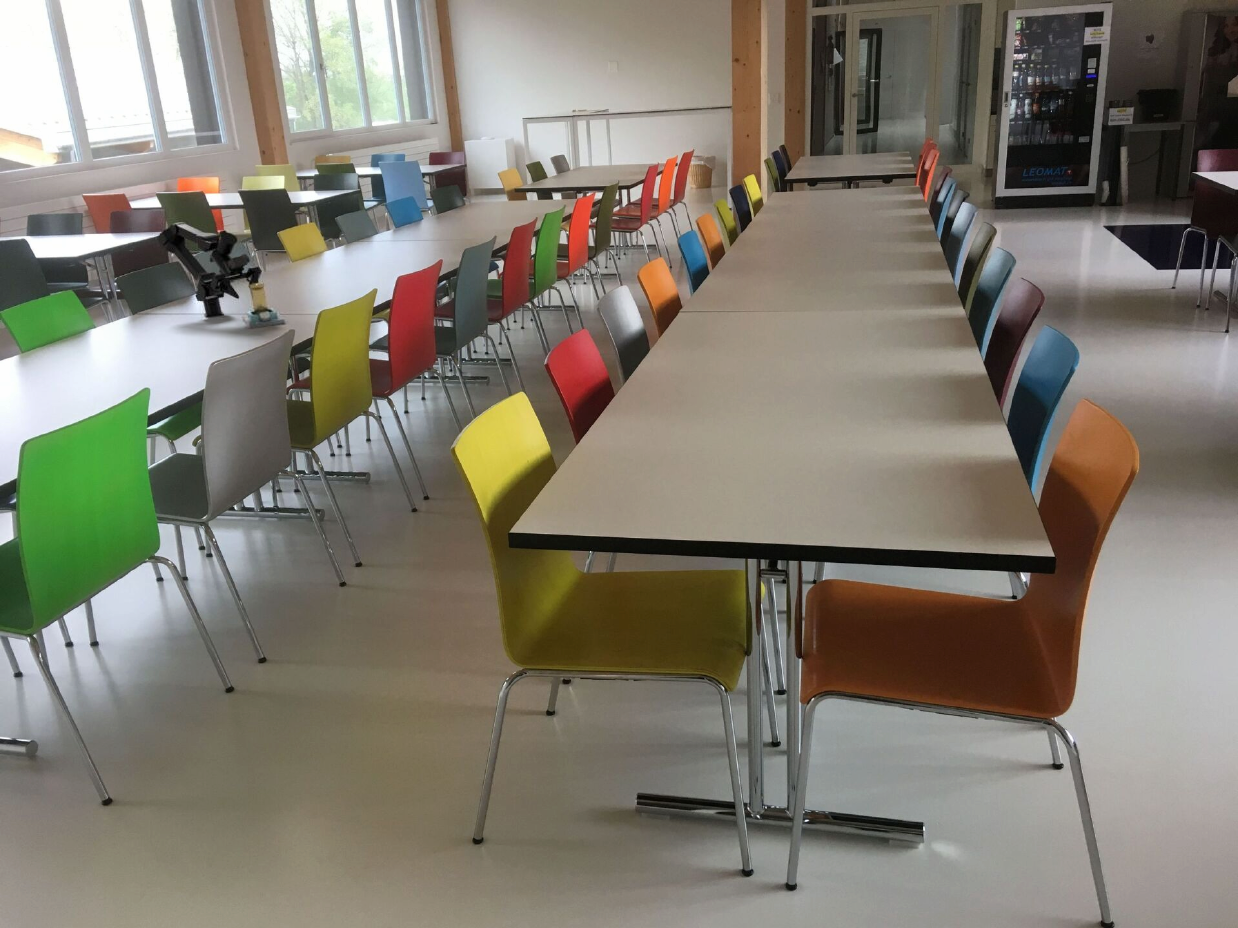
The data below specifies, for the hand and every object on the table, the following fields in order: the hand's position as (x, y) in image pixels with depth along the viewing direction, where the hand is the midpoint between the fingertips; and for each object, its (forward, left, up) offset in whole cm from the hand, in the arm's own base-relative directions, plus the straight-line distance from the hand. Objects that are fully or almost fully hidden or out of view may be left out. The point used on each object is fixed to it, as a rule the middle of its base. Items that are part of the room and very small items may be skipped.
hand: (249, 295), depth 348 cm
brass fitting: (+5, +2, -8) cm, 9 cm away
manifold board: (+5, +2, -9) cm, 11 cm away
